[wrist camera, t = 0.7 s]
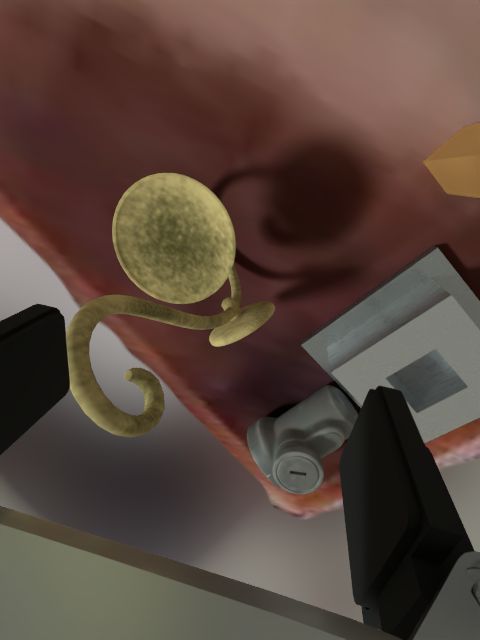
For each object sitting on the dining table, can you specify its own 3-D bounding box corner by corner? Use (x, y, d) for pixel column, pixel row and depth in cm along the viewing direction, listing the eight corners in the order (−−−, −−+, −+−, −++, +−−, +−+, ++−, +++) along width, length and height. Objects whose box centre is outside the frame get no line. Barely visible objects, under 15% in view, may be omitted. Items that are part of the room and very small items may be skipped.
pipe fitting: (286, 457, 44) (285, 523, 34) (248, 413, 43) (236, 468, 33) (363, 411, 40) (386, 470, 31) (324, 363, 39) (335, 408, 30)
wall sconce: (292, 279, 34) (269, 478, 12) (218, 316, 38) (89, 525, 15) (225, 153, 31) (3, 89, 8) (149, 206, 34) (-159, 265, 11)
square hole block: (433, 245, 30) (461, 260, 25) (524, 361, 33) (567, 397, 28) (301, 341, 37) (300, 369, 31) (386, 431, 40) (399, 471, 34)
